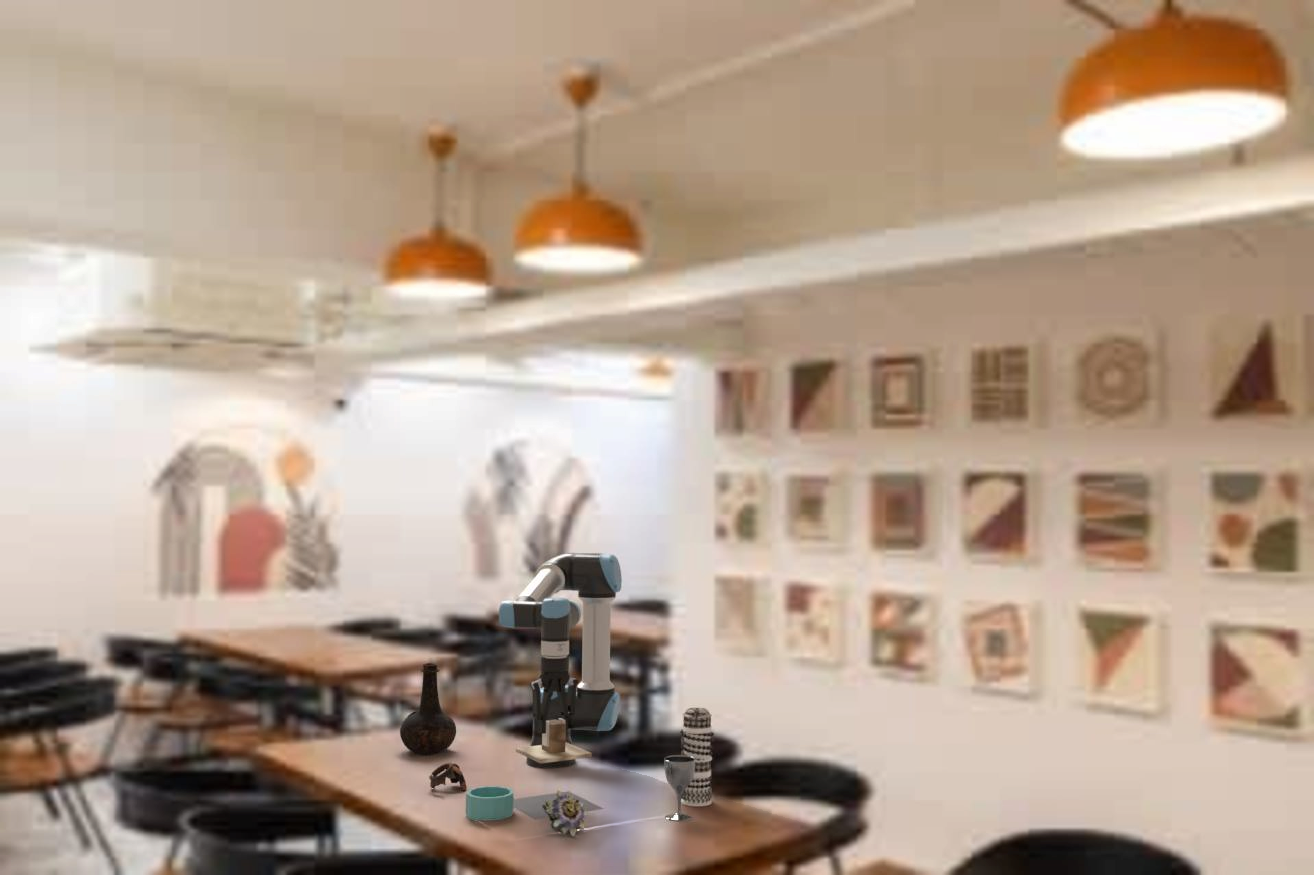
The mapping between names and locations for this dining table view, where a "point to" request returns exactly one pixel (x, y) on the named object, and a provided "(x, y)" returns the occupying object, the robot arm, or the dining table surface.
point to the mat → (535, 803)
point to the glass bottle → (428, 720)
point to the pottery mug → (447, 775)
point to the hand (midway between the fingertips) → (553, 744)
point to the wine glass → (679, 780)
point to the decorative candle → (698, 755)
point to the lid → (554, 747)
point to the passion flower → (566, 813)
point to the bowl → (489, 803)
